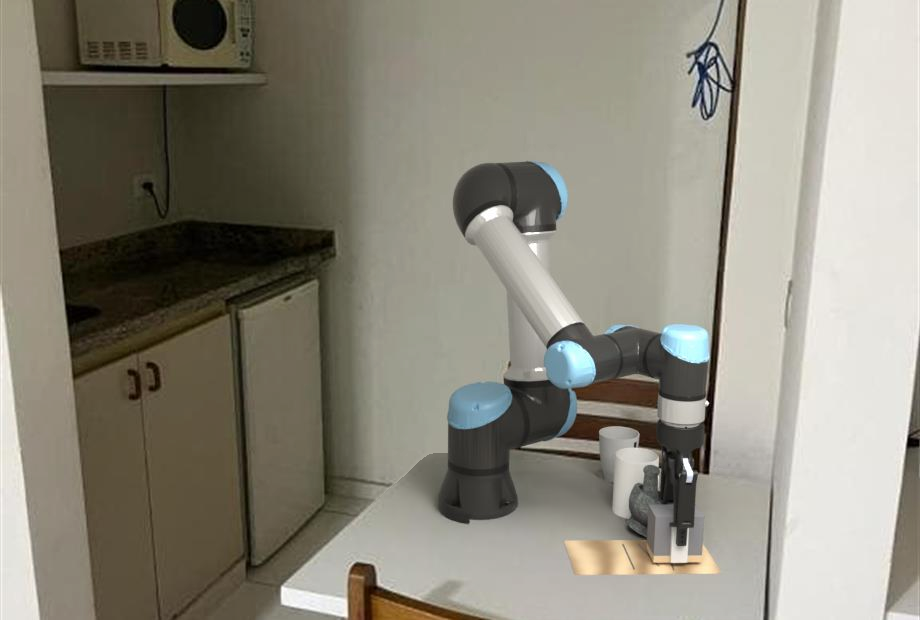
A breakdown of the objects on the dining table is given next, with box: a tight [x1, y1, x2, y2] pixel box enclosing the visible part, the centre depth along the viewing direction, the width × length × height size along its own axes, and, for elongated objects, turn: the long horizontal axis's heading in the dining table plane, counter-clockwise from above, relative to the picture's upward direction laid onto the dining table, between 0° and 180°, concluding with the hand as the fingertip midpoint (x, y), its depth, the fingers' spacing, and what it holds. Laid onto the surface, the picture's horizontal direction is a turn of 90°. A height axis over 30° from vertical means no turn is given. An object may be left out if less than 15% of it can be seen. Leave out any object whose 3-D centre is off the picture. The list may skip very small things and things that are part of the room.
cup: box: [598, 425, 640, 484], centre depth 189 cm, size 8×8×10 cm
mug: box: [612, 447, 660, 520], centre depth 173 cm, size 8×12×12 cm
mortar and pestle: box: [626, 465, 663, 538], centre depth 163 cm, size 11×9×12 cm
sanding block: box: [646, 503, 705, 563], centre depth 153 cm, size 8×5×8 cm, turn 92°
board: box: [563, 539, 723, 576], centre depth 155 cm, size 24×12×1 cm, turn 92°
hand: (673, 553), depth 154 cm, fingers closed on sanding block, 5 cm apart
